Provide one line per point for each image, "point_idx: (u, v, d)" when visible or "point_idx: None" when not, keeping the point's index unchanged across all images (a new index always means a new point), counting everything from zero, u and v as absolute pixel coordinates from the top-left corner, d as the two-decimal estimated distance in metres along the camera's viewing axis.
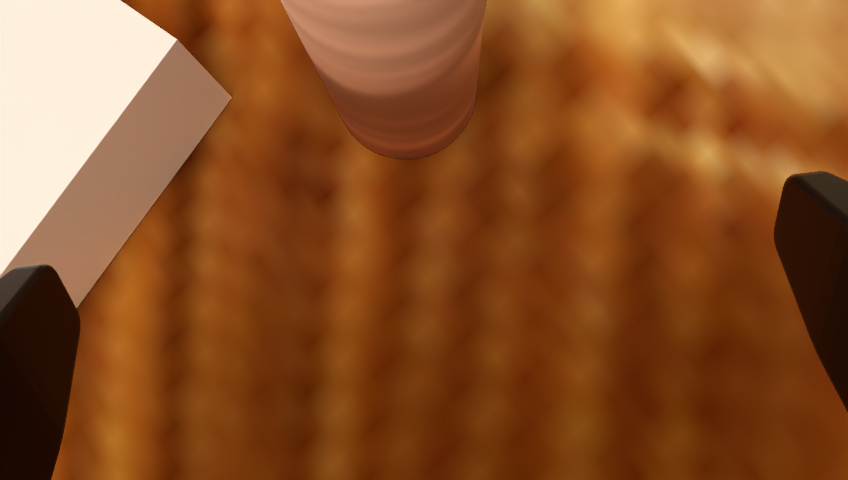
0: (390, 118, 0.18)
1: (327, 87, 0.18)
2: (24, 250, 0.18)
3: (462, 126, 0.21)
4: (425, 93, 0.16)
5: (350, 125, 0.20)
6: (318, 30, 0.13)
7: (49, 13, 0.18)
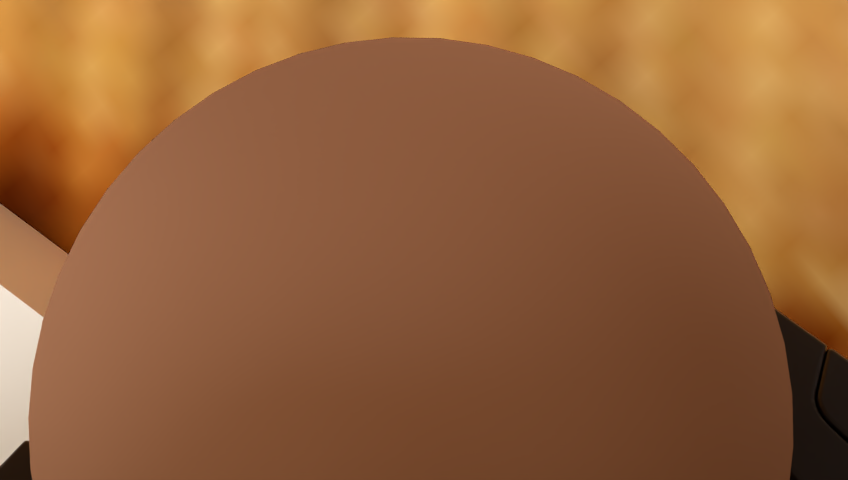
0: None
1: None
2: None
3: None
4: None
5: None
6: None
7: None
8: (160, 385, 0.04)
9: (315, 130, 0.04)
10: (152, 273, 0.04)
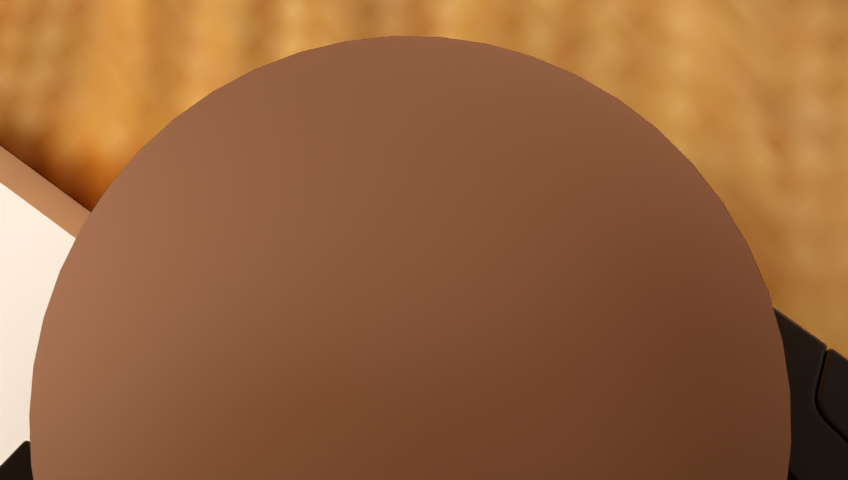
0: None
1: None
2: None
3: None
4: None
5: None
6: None
7: None
8: (160, 382, 0.04)
9: (315, 128, 0.04)
10: (152, 271, 0.04)
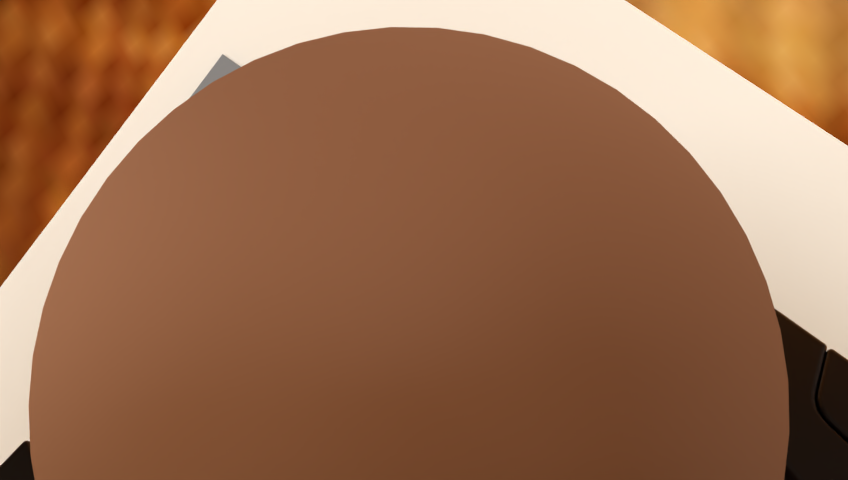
0: None
1: None
2: None
3: None
4: None
5: None
6: None
7: None
8: (160, 372, 0.04)
9: (314, 119, 0.04)
10: (151, 262, 0.04)
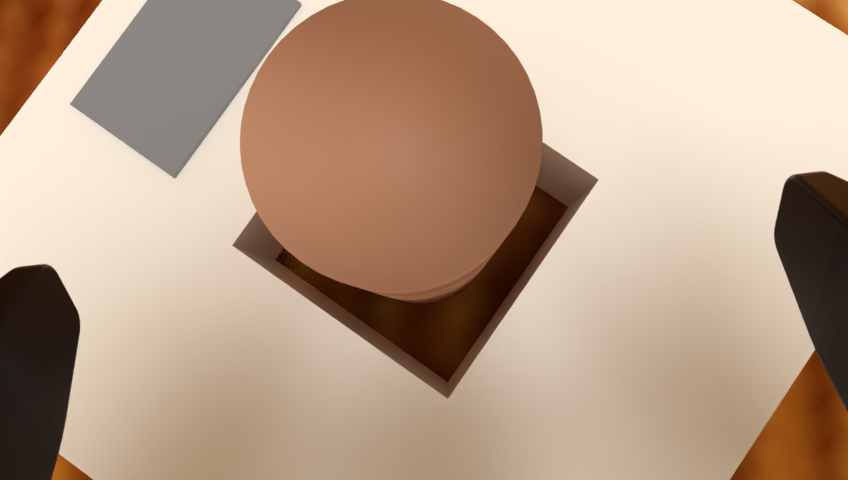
0: (410, 300, 0.18)
1: None
2: None
3: None
4: (447, 292, 0.16)
5: None
6: None
7: (832, 86, 0.18)
8: (292, 131, 0.10)
9: (353, 30, 0.10)
10: (288, 88, 0.10)
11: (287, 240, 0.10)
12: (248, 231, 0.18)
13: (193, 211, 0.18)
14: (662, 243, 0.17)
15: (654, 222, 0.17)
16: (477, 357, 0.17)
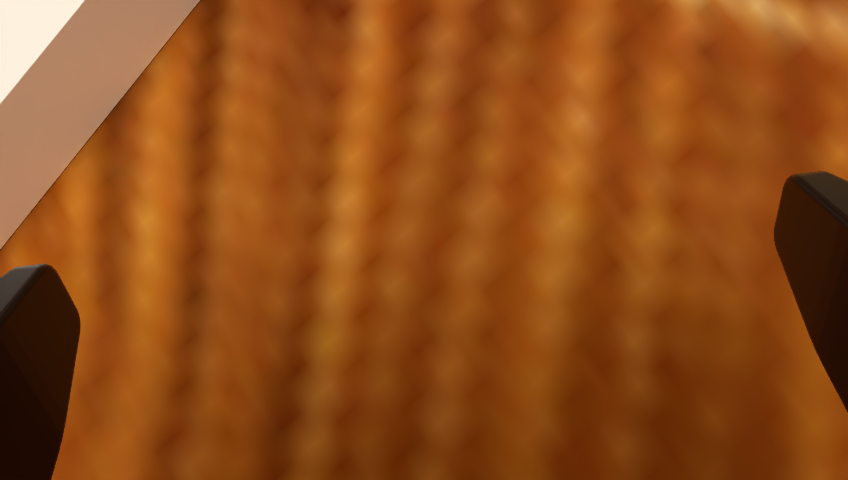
0: None
1: None
2: (80, 13, 0.20)
3: None
4: None
5: None
6: None
7: None
8: None
9: None
10: None
11: None
12: None
13: None
14: None
15: None
16: None
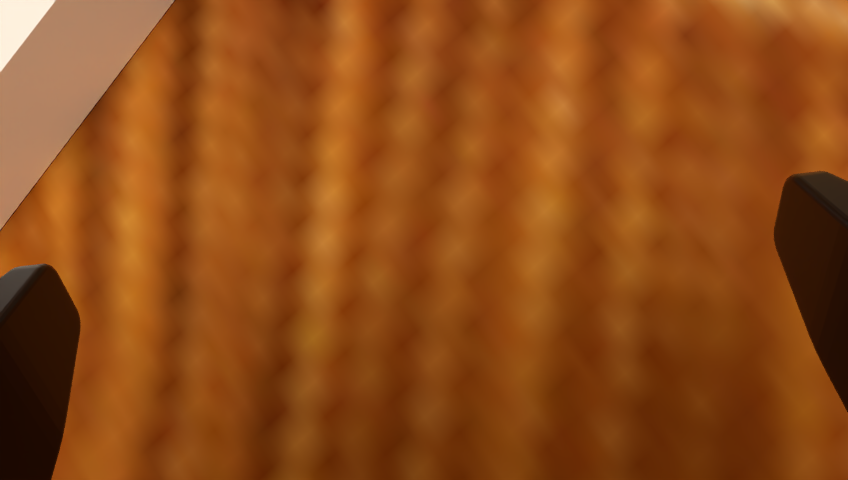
0: None
1: None
2: (52, 13, 0.20)
3: None
4: None
5: None
6: None
7: None
8: None
9: None
10: None
11: None
12: None
13: None
14: None
15: None
16: None
